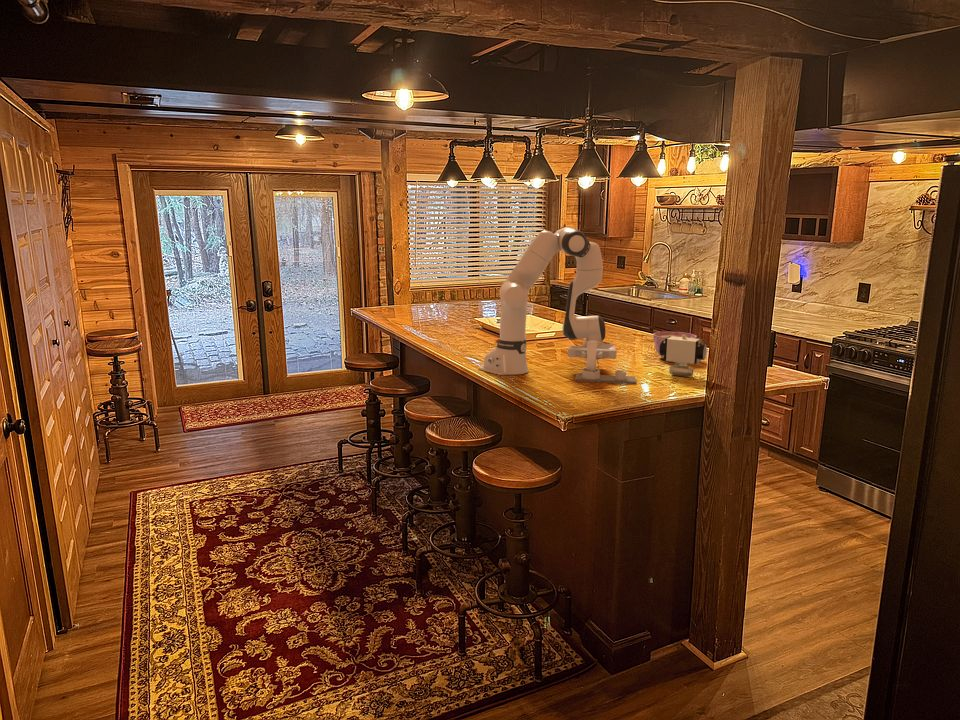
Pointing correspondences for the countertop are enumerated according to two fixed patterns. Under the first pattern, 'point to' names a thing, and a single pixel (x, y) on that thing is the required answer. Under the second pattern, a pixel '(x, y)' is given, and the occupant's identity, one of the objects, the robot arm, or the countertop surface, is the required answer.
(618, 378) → the plate
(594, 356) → the pvc pipe
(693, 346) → the ball valve
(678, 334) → the clear bowl
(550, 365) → the countertop surface
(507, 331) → the robot arm
